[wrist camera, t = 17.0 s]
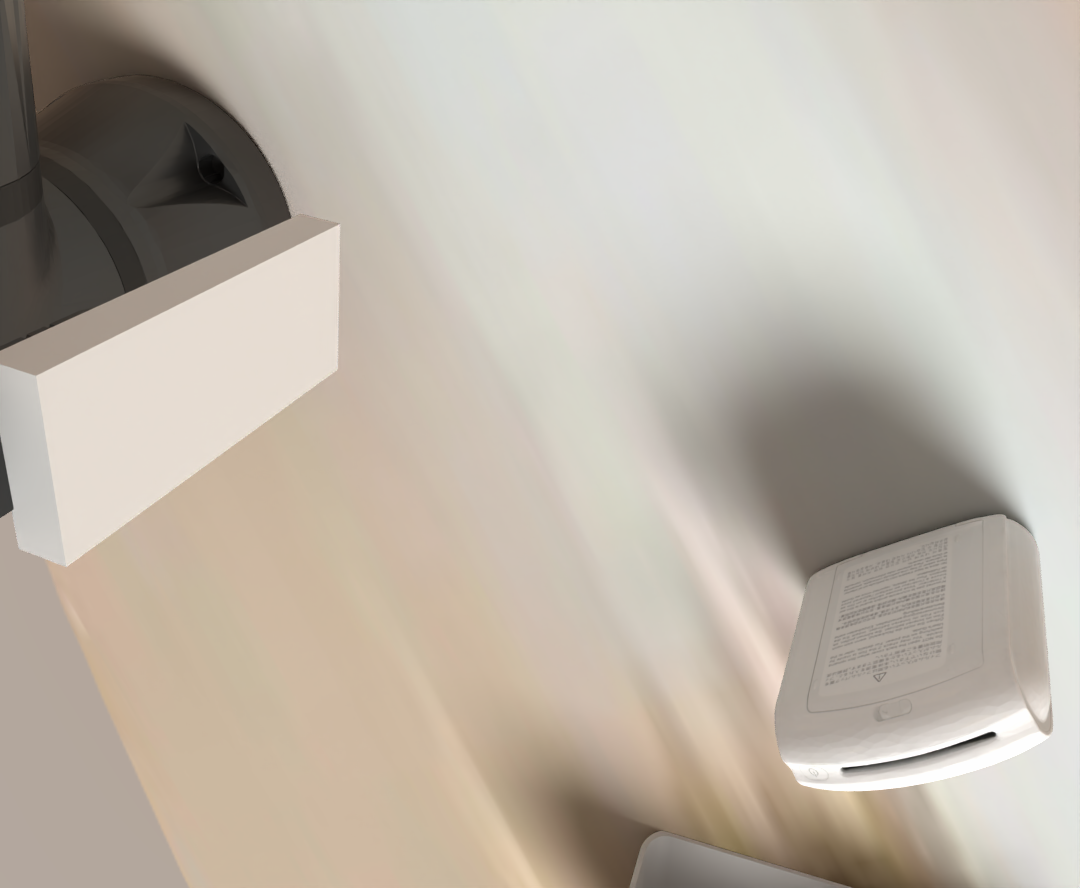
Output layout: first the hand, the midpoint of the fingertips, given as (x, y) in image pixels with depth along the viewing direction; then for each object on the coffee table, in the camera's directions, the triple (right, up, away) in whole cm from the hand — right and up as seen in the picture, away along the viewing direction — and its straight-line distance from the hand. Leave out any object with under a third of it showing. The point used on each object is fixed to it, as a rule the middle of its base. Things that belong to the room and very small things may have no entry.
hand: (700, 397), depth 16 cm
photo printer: (+15, -6, +30) cm, 34 cm away
